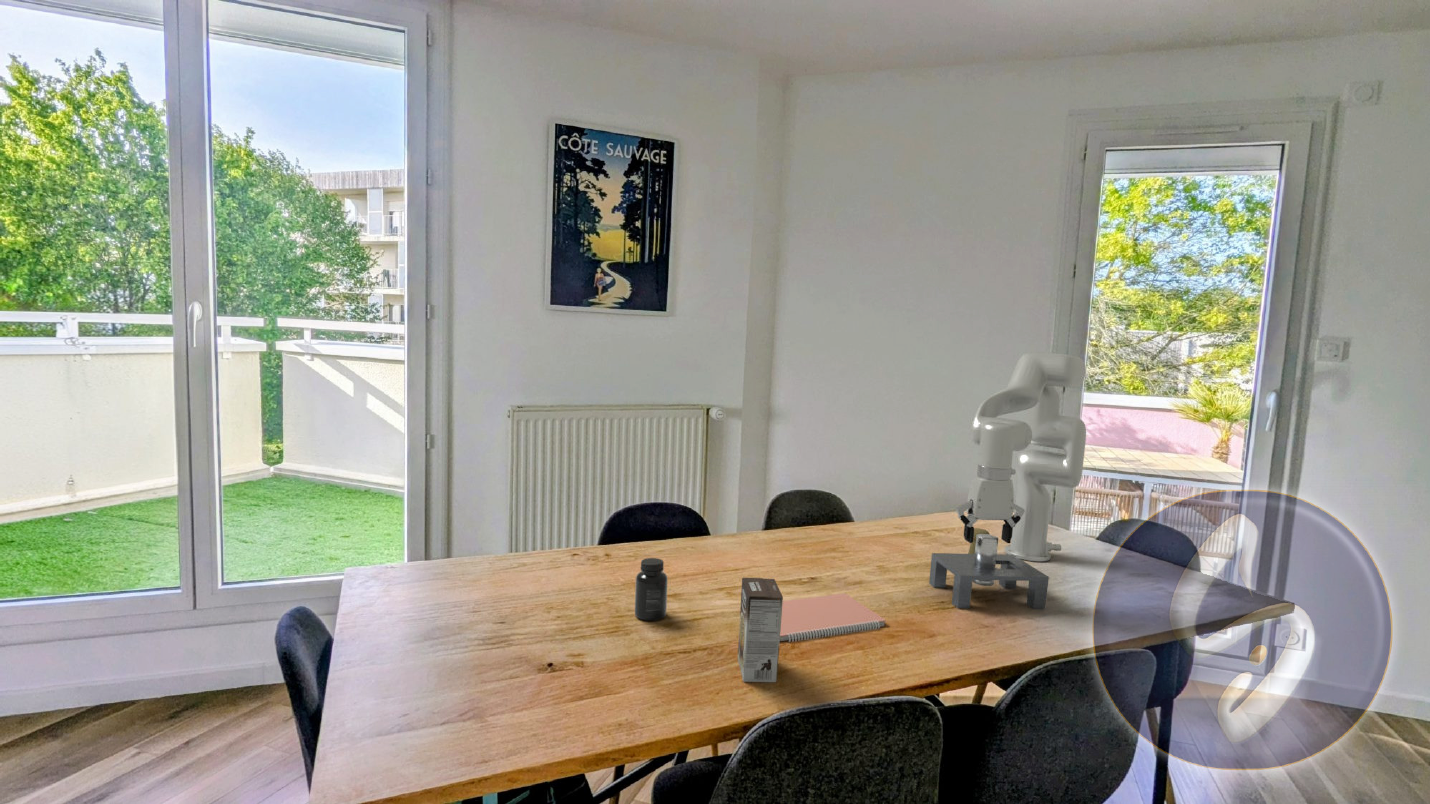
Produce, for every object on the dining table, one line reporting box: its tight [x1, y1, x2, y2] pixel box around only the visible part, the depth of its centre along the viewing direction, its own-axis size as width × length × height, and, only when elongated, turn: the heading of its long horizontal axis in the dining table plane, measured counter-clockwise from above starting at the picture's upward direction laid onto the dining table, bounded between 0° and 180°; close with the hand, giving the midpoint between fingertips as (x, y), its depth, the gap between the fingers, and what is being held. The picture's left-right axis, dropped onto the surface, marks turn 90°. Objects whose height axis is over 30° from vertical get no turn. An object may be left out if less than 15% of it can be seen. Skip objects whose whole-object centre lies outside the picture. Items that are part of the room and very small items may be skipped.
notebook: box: [780, 593, 887, 643], centre depth 154 cm, size 27×17×2 cm, turn 114°
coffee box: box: [737, 577, 784, 683], centre depth 129 cm, size 9×6×16 cm
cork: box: [967, 527, 991, 554], centre depth 194 cm, size 6×6×11 cm
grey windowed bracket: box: [928, 552, 1050, 610], centre depth 173 cm, size 22×16×8 cm
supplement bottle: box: [634, 557, 668, 622], centre depth 150 cm, size 7×7×12 cm
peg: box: [972, 533, 999, 587], centre depth 173 cm, size 5×5×12 cm
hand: (987, 541), depth 172 cm, fingers open, 9 cm apart
